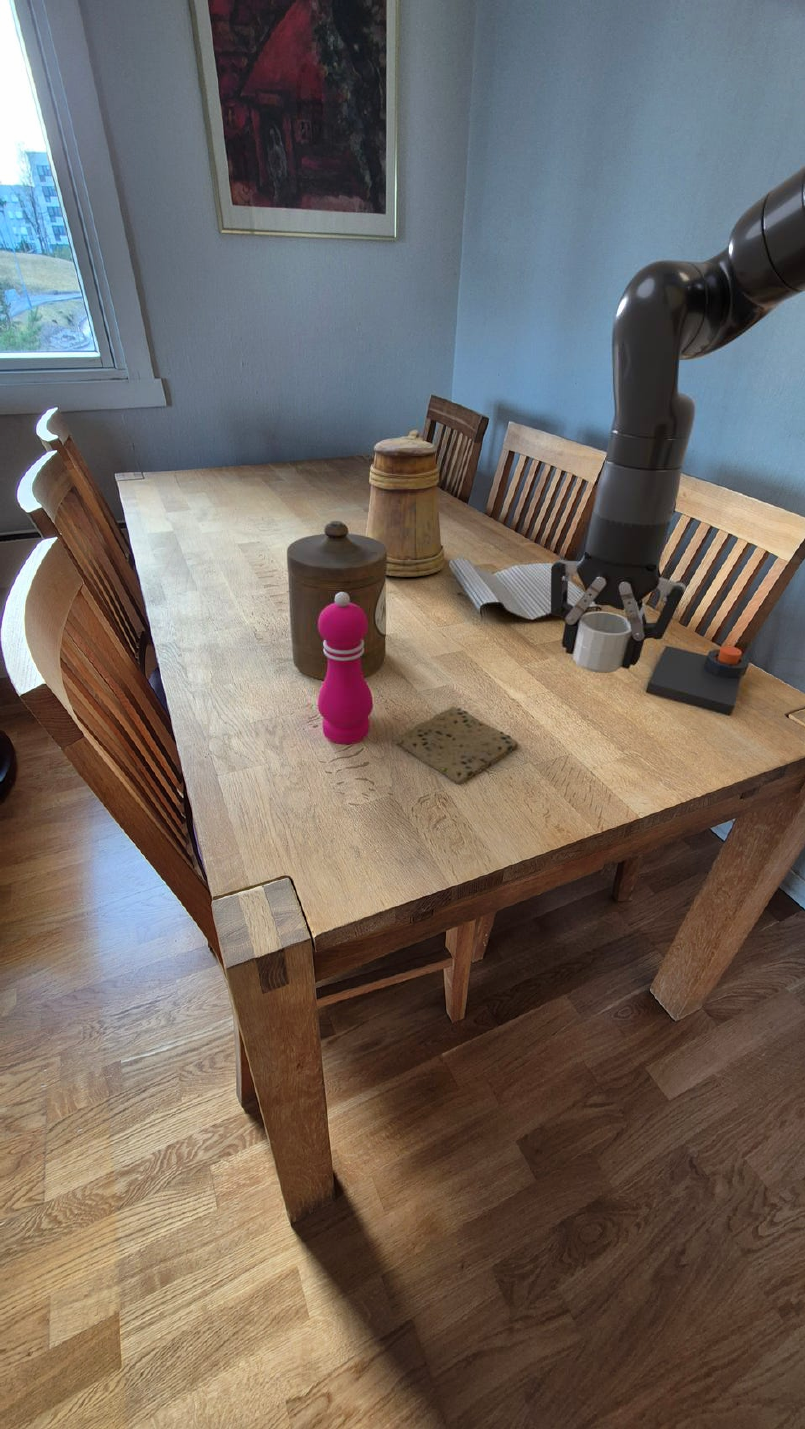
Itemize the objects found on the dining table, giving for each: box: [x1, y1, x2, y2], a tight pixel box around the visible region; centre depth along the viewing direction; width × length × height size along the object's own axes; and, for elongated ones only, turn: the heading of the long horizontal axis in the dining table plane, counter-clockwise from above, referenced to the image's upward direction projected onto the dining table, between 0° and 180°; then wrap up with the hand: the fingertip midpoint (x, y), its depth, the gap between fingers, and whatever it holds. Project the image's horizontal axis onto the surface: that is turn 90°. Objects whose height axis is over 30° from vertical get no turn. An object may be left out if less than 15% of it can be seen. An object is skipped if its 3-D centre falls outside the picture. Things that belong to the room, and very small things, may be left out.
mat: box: [448, 557, 603, 621], centre depth 122 cm, size 23×24×5 cm
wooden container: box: [286, 520, 387, 681], centre depth 95 cm, size 15×15×22 cm
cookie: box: [393, 706, 519, 785], centre depth 82 cm, size 12×12×1 cm
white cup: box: [571, 610, 632, 674], centre depth 70 cm, size 6×6×5 cm
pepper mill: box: [317, 592, 374, 745], centre depth 79 cm, size 7×7×20 cm
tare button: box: [718, 645, 743, 664], centre depth 97 cm, size 3×3×2 cm
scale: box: [645, 645, 750, 716], centre depth 96 cm, size 12×14×4 cm
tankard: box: [365, 429, 445, 578], centre depth 131 cm, size 18×24×25 cm
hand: (598, 657), depth 71 cm, fingers closed on white cup, 6 cm apart
